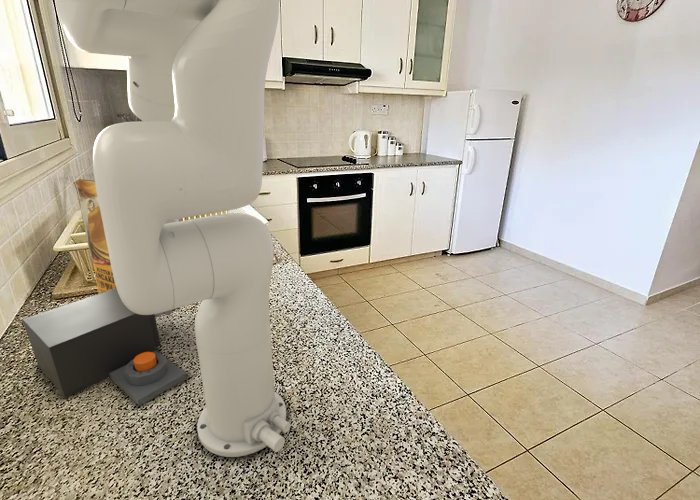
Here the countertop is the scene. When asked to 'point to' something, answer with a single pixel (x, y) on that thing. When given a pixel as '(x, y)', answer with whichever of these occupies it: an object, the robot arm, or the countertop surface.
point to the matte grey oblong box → (87, 340)
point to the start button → (145, 361)
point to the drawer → (154, 326)
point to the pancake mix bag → (95, 233)
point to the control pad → (147, 379)
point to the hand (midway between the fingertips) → (172, 307)
